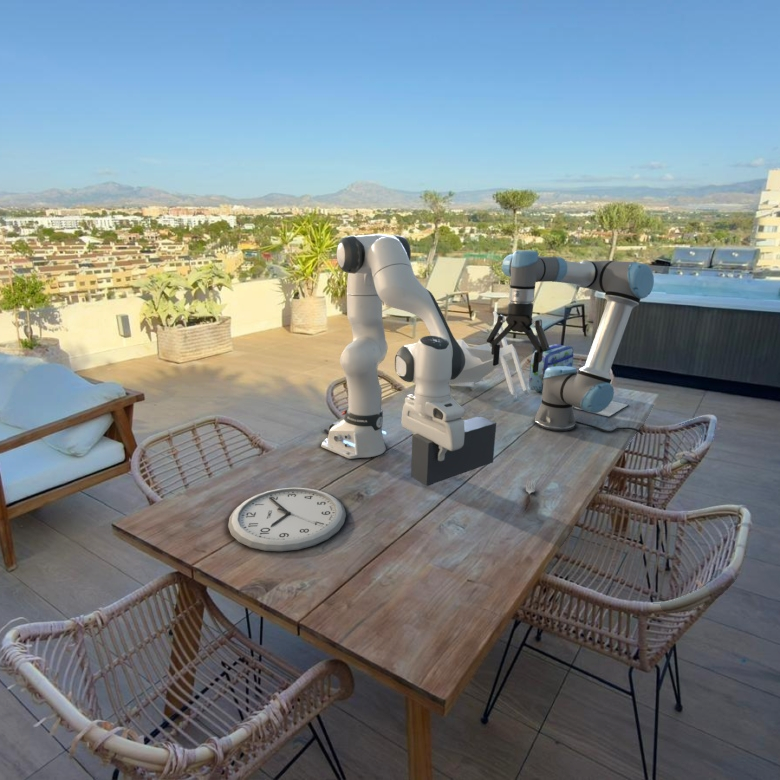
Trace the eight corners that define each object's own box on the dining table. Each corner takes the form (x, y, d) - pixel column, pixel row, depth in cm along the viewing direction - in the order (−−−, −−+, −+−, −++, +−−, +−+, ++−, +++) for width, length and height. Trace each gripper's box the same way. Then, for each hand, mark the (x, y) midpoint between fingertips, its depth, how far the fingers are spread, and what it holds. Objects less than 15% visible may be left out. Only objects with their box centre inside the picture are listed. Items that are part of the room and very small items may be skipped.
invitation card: (608, 416, 214) (573, 407, 224) (608, 416, 214) (573, 408, 224) (628, 404, 229) (594, 396, 238) (628, 405, 229) (594, 397, 238)
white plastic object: (461, 429, 252) (437, 405, 227) (444, 352, 274) (420, 323, 250) (535, 404, 240) (518, 377, 215) (510, 326, 262) (492, 293, 237)
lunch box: (545, 397, 238) (550, 352, 231) (524, 391, 245) (529, 348, 239) (572, 386, 255) (578, 344, 249) (552, 381, 262) (557, 340, 256)
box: (476, 454, 149) (479, 416, 145) (493, 462, 144) (496, 423, 141) (410, 476, 135) (412, 434, 132) (426, 486, 130) (428, 443, 127)
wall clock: (346, 543, 123) (215, 547, 120) (346, 549, 123) (215, 553, 121) (345, 483, 151) (239, 485, 149) (345, 488, 152) (240, 490, 149)
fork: (520, 510, 142) (521, 503, 141) (526, 484, 156) (527, 478, 155) (530, 512, 141) (531, 505, 140) (535, 486, 155) (536, 480, 154)
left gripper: (396, 394, 135) (395, 443, 139) (450, 417, 119) (447, 472, 123) (415, 390, 138) (413, 438, 142) (470, 412, 123) (466, 465, 127)
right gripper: (479, 299, 166) (474, 364, 172) (556, 307, 152) (548, 377, 158) (489, 297, 172) (485, 359, 178) (565, 304, 158) (557, 372, 164)
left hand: (429, 454), depth 133 cm, fingers closed on box, 6 cm apart
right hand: (514, 368), depth 168 cm, fingers open, 13 cm apart
